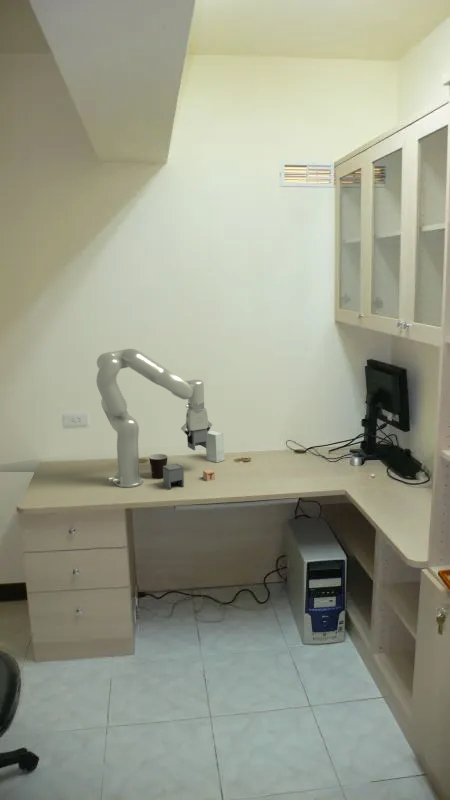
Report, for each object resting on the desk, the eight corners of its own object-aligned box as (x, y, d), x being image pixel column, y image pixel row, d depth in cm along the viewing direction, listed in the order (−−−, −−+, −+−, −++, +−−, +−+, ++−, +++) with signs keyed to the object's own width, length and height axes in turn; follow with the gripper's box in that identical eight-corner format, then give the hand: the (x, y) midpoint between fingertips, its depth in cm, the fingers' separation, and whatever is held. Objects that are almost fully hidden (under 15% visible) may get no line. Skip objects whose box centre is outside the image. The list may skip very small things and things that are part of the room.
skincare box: (224, 460, 298) (224, 432, 295) (216, 463, 294) (215, 434, 291) (213, 457, 304) (213, 429, 301) (205, 459, 300) (204, 431, 297)
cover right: (194, 450, 274) (193, 432, 272) (187, 446, 280) (187, 428, 278) (207, 448, 278) (206, 429, 276) (200, 444, 284) (200, 426, 282)
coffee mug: (164, 480, 270) (164, 459, 268) (147, 479, 272) (146, 458, 270) (172, 472, 281) (171, 452, 279) (155, 471, 283) (154, 451, 281)
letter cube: (207, 481, 268) (207, 473, 268) (203, 478, 272) (203, 470, 271) (214, 479, 270) (214, 471, 269) (210, 477, 274) (210, 469, 273)
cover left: (169, 489, 258) (169, 470, 256) (163, 484, 264) (162, 466, 262) (183, 486, 261) (183, 467, 259) (177, 482, 267) (177, 463, 265)
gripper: (182, 409, 267) (184, 446, 271) (216, 405, 276) (217, 441, 279) (176, 406, 274) (177, 443, 278) (208, 402, 282) (209, 437, 286)
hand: (197, 441), depth 278 cm, fingers closed on cover right, 7 cm apart
